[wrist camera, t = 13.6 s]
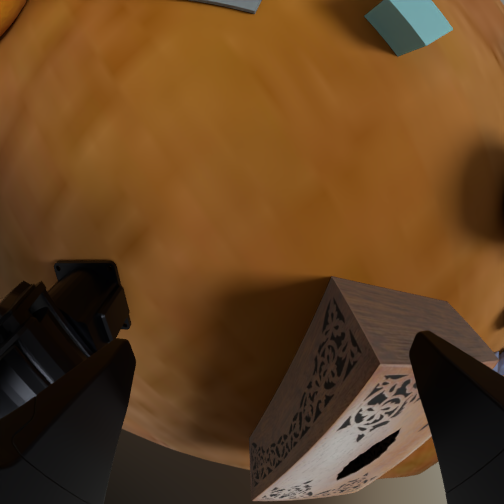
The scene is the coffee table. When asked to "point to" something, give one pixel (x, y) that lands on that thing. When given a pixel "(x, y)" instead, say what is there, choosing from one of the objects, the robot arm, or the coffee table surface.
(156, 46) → the coffee table surface
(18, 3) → the fruit
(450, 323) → the tissue box cover
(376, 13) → the block
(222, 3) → the mat
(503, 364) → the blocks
